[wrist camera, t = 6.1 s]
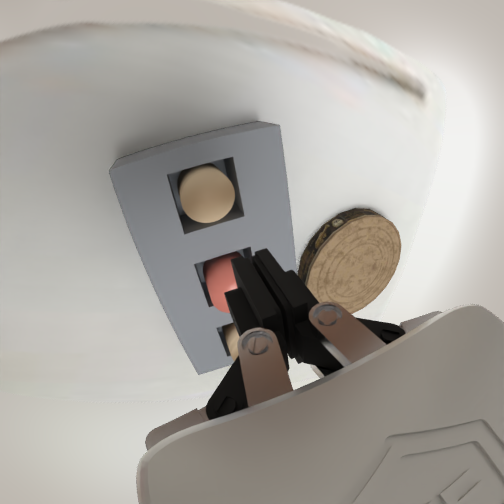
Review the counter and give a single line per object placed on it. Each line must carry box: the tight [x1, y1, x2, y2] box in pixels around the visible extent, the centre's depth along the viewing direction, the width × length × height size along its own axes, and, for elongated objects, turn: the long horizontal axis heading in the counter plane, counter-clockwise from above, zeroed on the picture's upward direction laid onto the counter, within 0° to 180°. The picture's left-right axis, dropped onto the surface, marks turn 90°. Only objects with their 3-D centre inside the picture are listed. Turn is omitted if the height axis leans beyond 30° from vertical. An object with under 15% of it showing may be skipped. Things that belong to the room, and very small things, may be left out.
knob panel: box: [109, 121, 297, 375], centre depth 29 cm, size 26×14×5 cm, turn 10°
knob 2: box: [222, 322, 240, 361], centre depth 32 cm, size 4×4×4 cm
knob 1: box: [177, 163, 235, 223], centre depth 24 cm, size 4×4×4 cm
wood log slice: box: [298, 208, 401, 314], centre depth 38 cm, size 16×16×3 cm
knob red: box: [203, 251, 242, 313], centre depth 27 cm, size 4×4×4 cm
